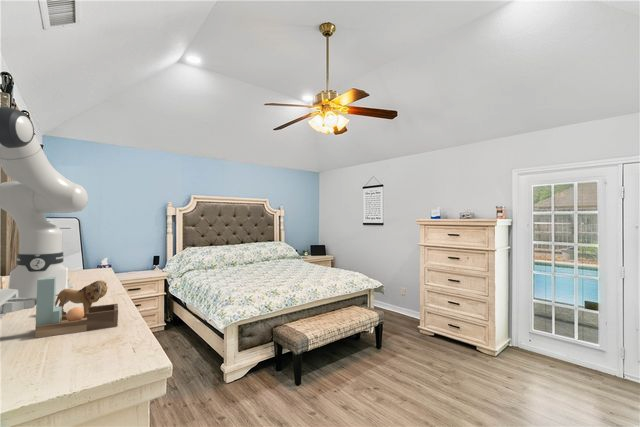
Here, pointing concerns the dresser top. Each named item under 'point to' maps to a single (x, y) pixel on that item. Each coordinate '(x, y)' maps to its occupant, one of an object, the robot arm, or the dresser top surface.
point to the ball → (75, 314)
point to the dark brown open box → (102, 317)
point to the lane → (61, 327)
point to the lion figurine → (83, 295)
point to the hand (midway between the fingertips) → (35, 302)
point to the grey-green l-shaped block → (47, 302)
